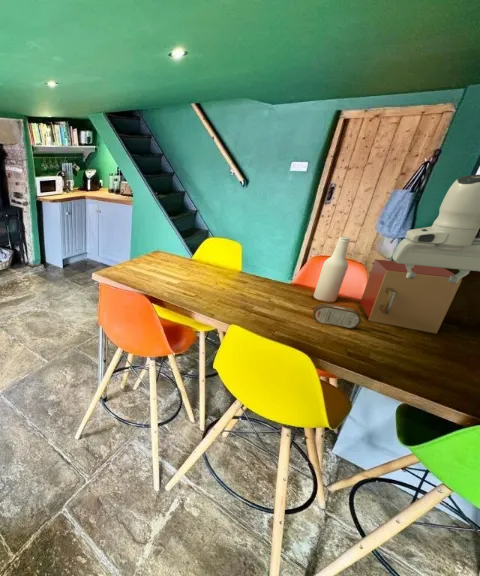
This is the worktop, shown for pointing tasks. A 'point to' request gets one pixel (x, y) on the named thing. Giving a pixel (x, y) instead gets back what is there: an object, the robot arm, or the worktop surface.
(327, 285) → the alcohol
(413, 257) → the robot arm
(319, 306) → the tin
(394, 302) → the door
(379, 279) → the red cabinet
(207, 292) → the worktop surface
